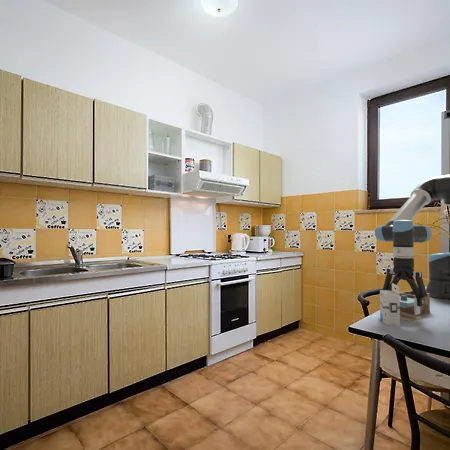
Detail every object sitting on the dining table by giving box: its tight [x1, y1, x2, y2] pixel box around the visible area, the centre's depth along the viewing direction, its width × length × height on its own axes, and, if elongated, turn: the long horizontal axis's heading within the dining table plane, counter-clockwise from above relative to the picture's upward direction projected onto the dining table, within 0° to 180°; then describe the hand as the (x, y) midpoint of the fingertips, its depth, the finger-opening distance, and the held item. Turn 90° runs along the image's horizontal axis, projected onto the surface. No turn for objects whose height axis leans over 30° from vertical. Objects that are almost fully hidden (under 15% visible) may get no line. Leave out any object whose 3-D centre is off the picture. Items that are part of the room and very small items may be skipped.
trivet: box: [400, 311, 423, 322], centre depth 128 cm, size 9×9×1 cm
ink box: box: [379, 283, 401, 327], centre depth 121 cm, size 9×5×15 cm, turn 168°
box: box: [399, 290, 431, 316], centre depth 136 cm, size 10×8×8 cm
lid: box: [400, 295, 424, 308], centre depth 128 cm, size 10×10×4 cm
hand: (404, 310), depth 128 cm, fingers closed on lid, 10 cm apart
